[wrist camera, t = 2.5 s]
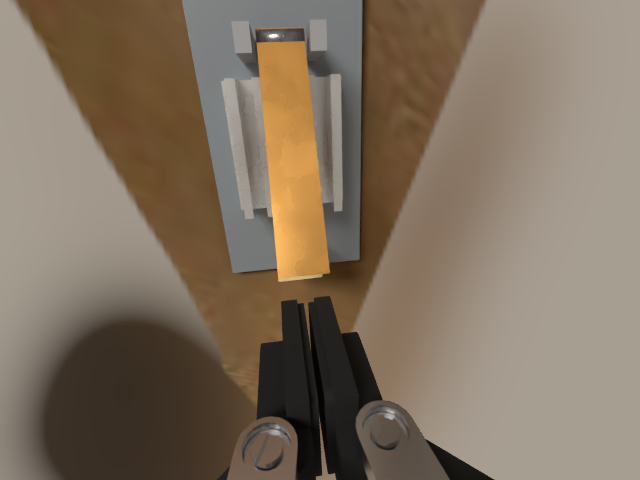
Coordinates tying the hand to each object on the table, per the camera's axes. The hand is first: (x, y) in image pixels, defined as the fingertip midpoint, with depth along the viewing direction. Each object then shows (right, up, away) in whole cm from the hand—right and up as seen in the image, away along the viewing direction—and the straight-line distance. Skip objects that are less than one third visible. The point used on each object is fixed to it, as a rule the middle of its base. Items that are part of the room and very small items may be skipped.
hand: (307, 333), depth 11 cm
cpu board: (-3, +12, +17) cm, 21 cm away
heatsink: (-3, +12, +17) cm, 21 cm away
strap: (-1, +9, +9) cm, 12 cm away
